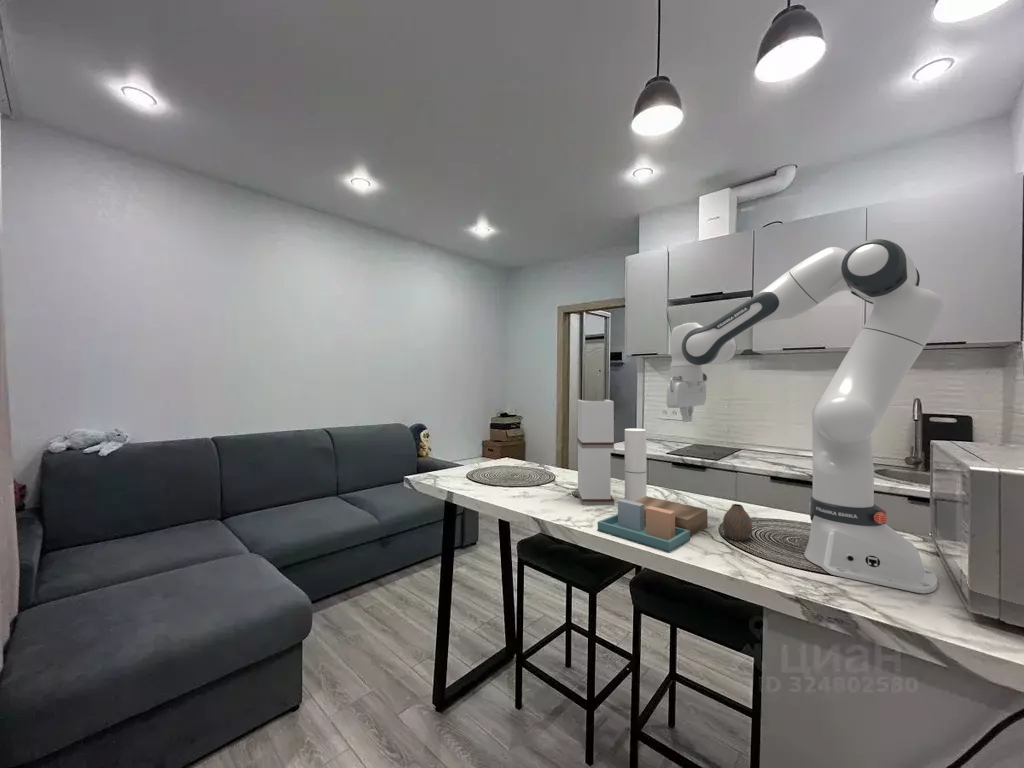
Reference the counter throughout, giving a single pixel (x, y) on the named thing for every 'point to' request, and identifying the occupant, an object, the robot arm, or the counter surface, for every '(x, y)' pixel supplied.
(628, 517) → the slate tile
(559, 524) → the counter surface
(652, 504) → the block
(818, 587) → the counter surface
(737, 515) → the vase
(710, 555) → the counter surface
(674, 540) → the tray
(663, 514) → the terracotta tile
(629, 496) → the cylindrical container
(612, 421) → the white stacked pillar
